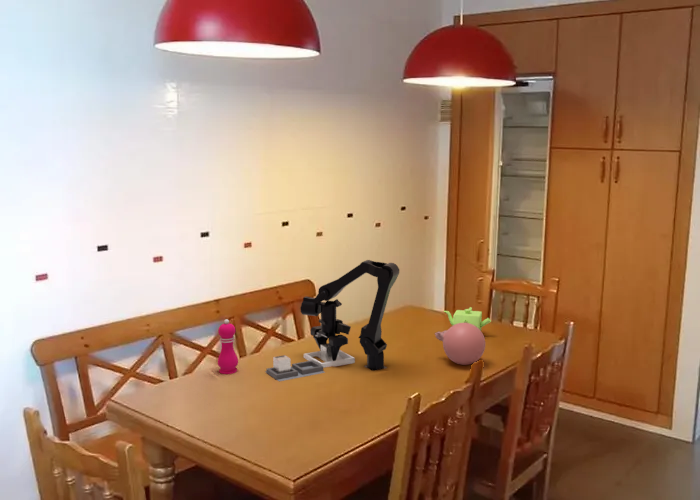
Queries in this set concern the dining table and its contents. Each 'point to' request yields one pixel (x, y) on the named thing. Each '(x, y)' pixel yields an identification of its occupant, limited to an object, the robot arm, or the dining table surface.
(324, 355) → the billet loose
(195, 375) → the dining table surface
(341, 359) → the white square tray
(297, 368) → the plate
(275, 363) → the block
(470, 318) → the kettle
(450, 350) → the balloon
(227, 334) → the pepper mill
